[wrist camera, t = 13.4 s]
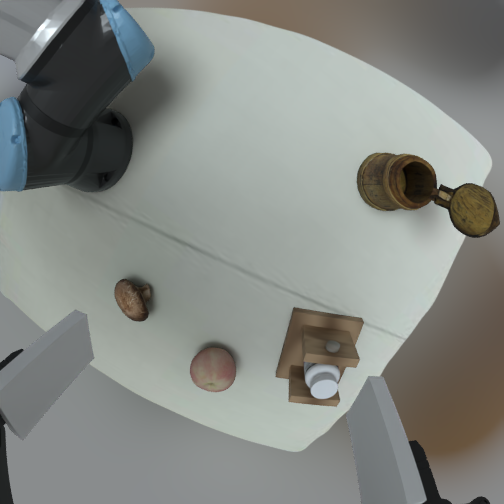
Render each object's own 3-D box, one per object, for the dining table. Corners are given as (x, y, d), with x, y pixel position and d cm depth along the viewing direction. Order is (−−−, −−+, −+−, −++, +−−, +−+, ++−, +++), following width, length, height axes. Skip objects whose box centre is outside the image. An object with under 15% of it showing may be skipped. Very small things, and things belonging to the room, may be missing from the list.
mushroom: (155, 281, 41) (125, 303, 37) (167, 314, 46) (141, 335, 42) (130, 263, 45) (102, 282, 41) (142, 294, 50) (118, 312, 46)
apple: (196, 366, 48) (184, 392, 41) (199, 334, 46) (185, 360, 39) (236, 375, 48) (229, 404, 40) (242, 344, 46) (235, 373, 38)
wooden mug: (419, 231, 37) (487, 263, 20) (348, 196, 38) (396, 208, 20) (436, 181, 35) (510, 188, 18) (368, 142, 35) (424, 119, 18)
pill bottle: (338, 355, 43) (348, 393, 33) (311, 368, 44) (314, 406, 35) (326, 334, 42) (334, 370, 33) (297, 347, 43) (299, 385, 34)
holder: (275, 372, 47) (273, 407, 38) (293, 307, 43) (295, 338, 34) (336, 379, 46) (343, 414, 37) (361, 318, 42) (377, 349, 33)
